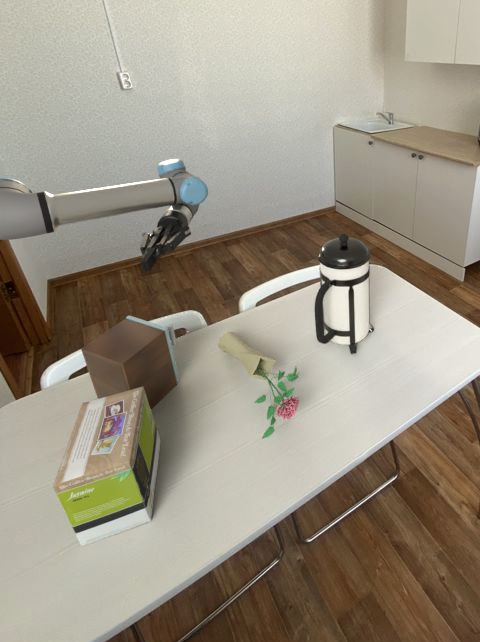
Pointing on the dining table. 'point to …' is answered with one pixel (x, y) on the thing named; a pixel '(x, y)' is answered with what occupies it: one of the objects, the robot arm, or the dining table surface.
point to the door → (172, 335)
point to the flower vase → (262, 376)
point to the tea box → (110, 466)
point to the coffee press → (343, 292)
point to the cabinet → (130, 361)
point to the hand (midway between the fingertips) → (145, 266)
